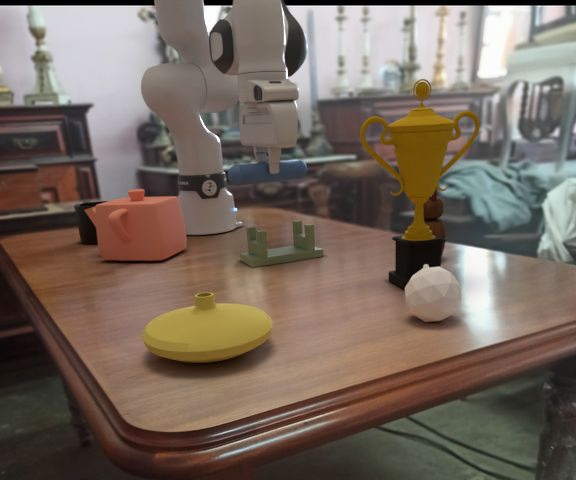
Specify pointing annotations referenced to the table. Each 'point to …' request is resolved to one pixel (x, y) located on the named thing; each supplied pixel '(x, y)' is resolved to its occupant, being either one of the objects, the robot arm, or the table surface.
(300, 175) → the handle
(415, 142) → the trophy
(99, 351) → the table surface
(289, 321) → the table surface
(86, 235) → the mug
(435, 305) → the ornament
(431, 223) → the wooden figurine
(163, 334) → the vase
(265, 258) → the holder
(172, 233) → the teapot
